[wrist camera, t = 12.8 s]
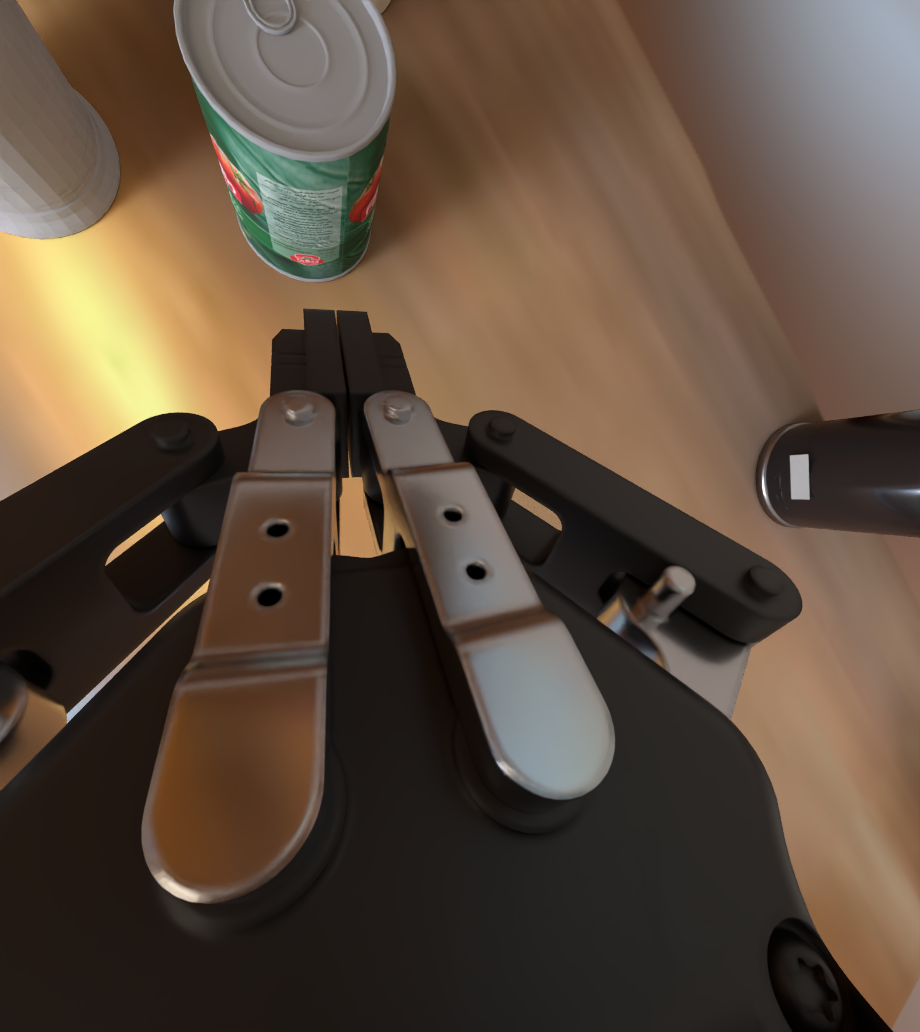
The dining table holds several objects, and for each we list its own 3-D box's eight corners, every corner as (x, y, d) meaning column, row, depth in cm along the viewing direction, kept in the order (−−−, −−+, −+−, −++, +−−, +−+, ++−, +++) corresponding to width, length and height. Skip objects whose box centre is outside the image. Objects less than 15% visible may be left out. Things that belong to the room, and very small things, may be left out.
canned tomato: (393, 254, 29) (432, 121, 18) (283, 303, 27) (255, 187, 16) (328, 128, 27) (330, -98, 16) (206, 172, 25) (121, -50, 15)
